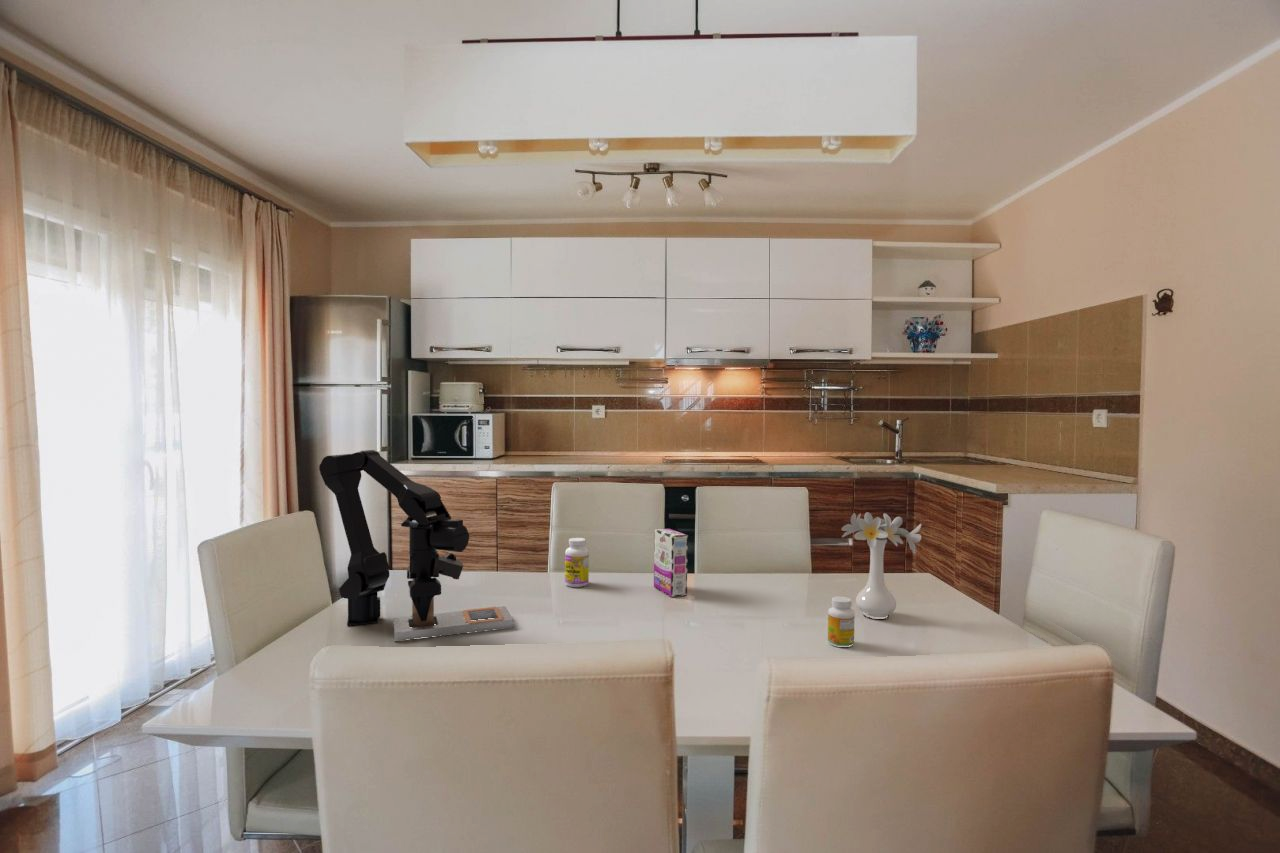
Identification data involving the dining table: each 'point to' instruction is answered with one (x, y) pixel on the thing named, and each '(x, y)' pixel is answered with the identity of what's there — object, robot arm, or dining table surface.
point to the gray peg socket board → (455, 623)
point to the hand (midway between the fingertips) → (423, 617)
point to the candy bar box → (670, 562)
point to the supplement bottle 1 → (576, 563)
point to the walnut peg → (416, 619)
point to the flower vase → (878, 559)
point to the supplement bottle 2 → (841, 622)
